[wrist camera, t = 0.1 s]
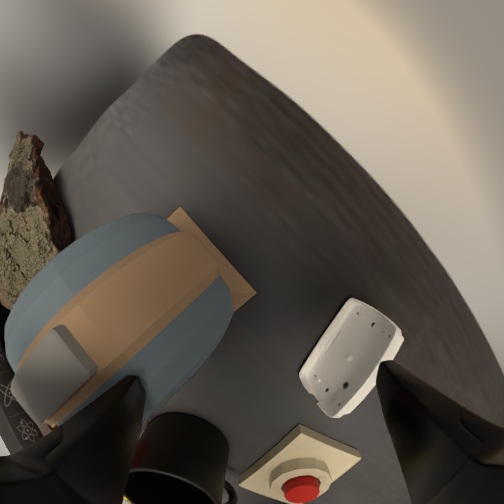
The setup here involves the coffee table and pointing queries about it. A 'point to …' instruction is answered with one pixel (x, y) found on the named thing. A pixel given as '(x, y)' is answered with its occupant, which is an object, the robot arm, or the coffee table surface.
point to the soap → (349, 357)
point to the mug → (179, 463)
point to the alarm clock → (120, 315)
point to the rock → (28, 219)
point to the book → (14, 413)
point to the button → (301, 489)
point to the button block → (299, 463)
